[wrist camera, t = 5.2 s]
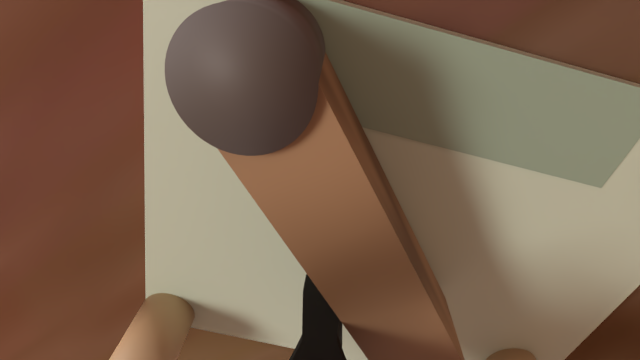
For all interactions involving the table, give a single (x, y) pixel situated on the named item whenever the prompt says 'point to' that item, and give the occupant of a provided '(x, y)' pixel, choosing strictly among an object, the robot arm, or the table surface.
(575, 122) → the seat
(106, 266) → the table surface
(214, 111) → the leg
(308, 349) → the robot arm
